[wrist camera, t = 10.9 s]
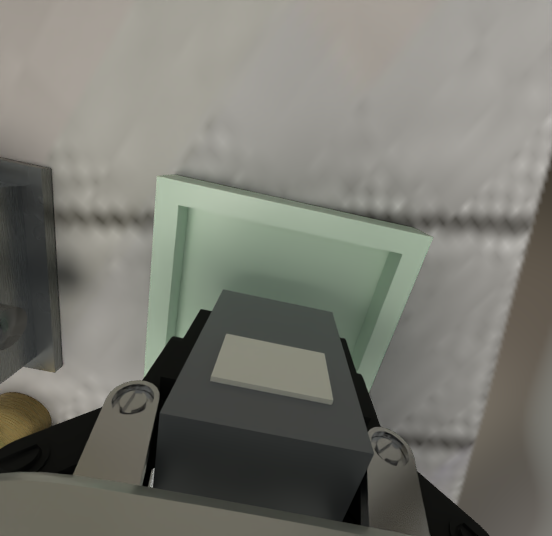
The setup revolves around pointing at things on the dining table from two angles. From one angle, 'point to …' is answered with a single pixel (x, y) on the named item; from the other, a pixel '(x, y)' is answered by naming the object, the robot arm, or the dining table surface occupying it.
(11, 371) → the box
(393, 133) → the dining table surface
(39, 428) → the cylinder
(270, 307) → the block
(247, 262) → the tray
